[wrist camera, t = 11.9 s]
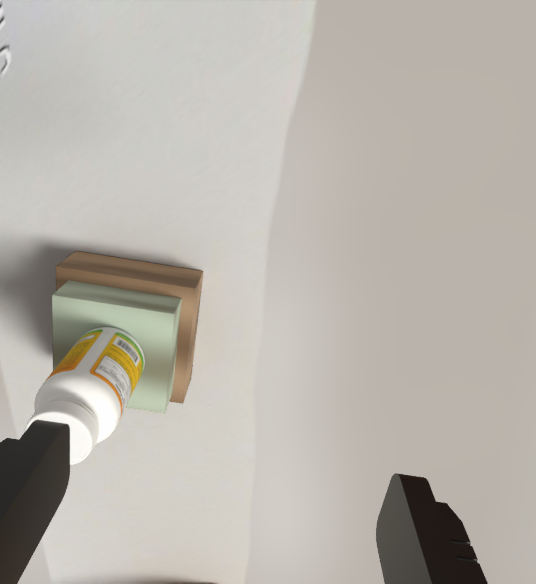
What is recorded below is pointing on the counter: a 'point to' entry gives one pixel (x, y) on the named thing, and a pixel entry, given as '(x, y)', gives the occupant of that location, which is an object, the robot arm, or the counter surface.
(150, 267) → the podium
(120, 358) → the supplement bottle
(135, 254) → the counter surface
